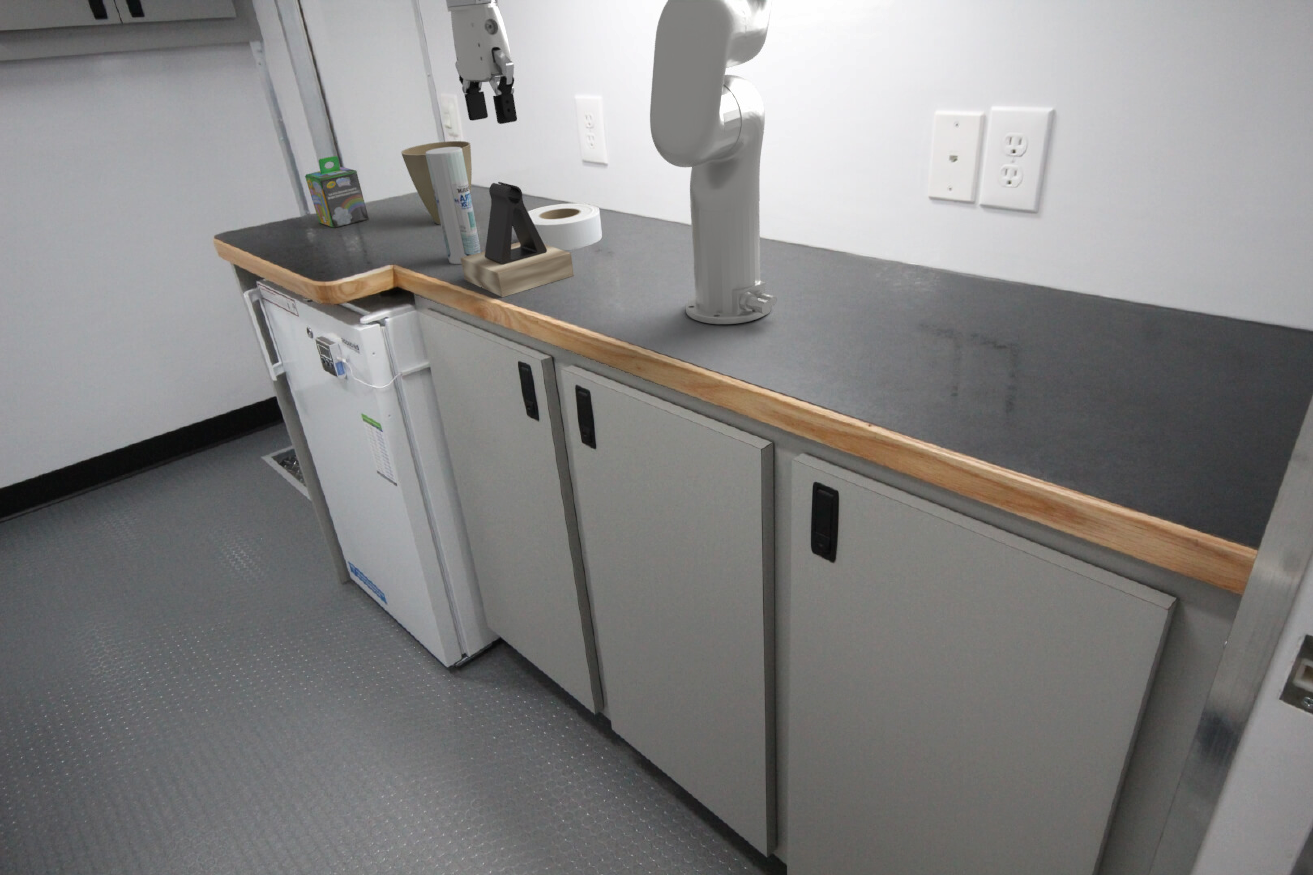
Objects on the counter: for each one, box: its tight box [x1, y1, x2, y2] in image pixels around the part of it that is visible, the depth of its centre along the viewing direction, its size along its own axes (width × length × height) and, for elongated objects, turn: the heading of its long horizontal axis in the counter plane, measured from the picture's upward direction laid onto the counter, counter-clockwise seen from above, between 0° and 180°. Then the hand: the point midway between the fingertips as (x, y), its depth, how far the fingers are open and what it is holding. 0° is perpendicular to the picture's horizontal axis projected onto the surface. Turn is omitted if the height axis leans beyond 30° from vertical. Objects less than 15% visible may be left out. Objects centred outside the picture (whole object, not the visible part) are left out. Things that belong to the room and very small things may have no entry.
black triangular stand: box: [484, 181, 547, 265], centre depth 134 cm, size 9×6×12 cm, turn 127°
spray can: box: [425, 147, 482, 265], centre depth 147 cm, size 6×6×20 cm
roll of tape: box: [527, 202, 603, 251], centre depth 157 cm, size 16×16×6 cm
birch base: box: [461, 241, 575, 298], centre depth 138 cm, size 14×14×4 cm
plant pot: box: [400, 140, 473, 225], centre depth 176 cm, size 15×15×16 cm
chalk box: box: [304, 155, 369, 229], centre depth 184 cm, size 9×9×15 cm
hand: (492, 120), depth 126 cm, fingers open, 9 cm apart
